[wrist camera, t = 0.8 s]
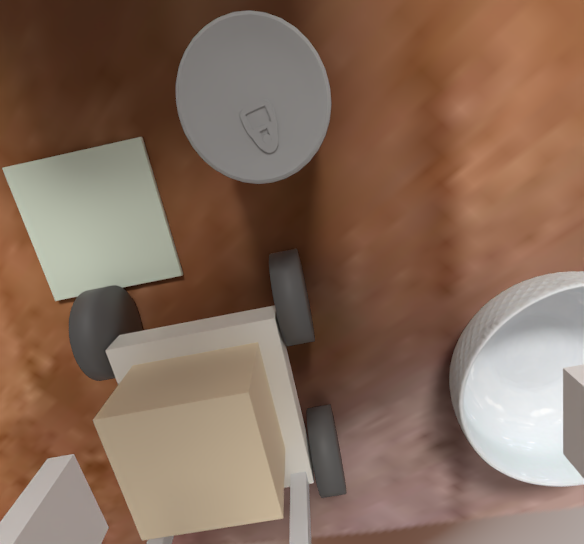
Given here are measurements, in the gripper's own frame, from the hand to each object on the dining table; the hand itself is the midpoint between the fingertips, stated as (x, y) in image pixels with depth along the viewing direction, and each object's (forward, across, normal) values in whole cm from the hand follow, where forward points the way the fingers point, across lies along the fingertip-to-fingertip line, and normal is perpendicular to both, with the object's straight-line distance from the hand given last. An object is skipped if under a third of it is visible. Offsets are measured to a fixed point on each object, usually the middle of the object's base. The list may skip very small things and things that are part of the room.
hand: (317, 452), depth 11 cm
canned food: (+24, -1, +10) cm, 26 cm away
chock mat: (+24, -16, +5) cm, 29 cm away
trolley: (+23, -9, -10) cm, 27 cm away
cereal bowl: (+23, +17, -14) cm, 32 cm away
